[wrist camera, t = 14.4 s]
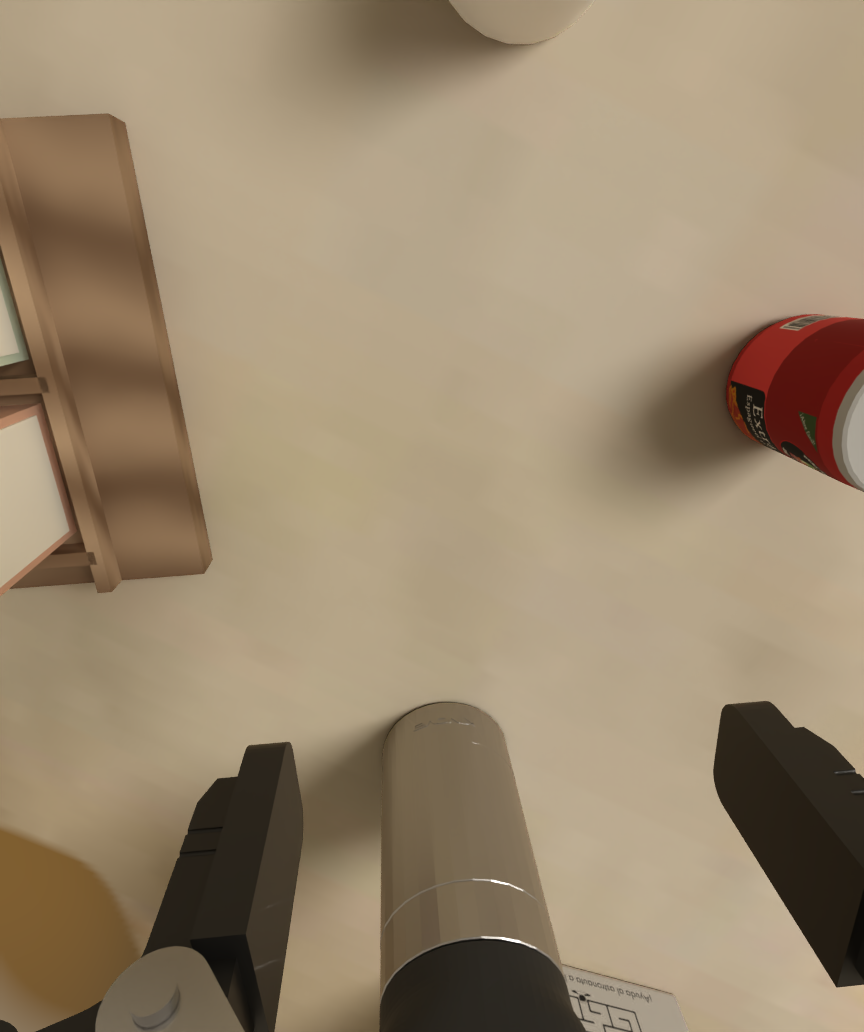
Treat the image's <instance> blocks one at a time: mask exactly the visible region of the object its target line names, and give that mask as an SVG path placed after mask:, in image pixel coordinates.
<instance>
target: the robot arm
mask: <svg viewBox="0 0 864 1032" xmlns="http://www.w3.org/2000/svg"><path fill="white" fill-rule="evenodd" d="M713 774H714V782H715V787H716V790H717V794H718V796H719V799H720V801H721V803H722V805H723V806H724V808H725V810H726V811H727V813H728V814H729V816H730V818H731V819H732V821H733V822H734V824H735V826H736V827H737V829H738V830H739V832H740V834H741V835H742V837H743V838H744V840H745V842H746V843H747V845H748V846H749V848H750V850H751V851H752V853H753V854H754V856H755V858H756V859H757V861H758V862H759V864H760V866H761V867H762V869H763V870H764V872H765V874H766V875H767V877H768V878H769V880H770V882H771V883H772V885H773V886H774V888H775V890H776V891H777V893H778V894H779V896H780V898H781V899H782V901H783V902H784V904H785V906H786V907H787V909H788V910H789V912H790V914H791V915H792V917H793V918H794V920H795V922H796V923H797V925H798V926H799V928H800V930H801V931H802V933H803V934H804V936H805V938H806V939H807V941H808V942H809V944H810V946H811V947H812V949H813V950H814V952H815V954H816V955H817V957H818V958H819V960H820V962H821V963H822V965H823V966H824V968H825V970H826V971H827V973H828V974H829V976H830V978H831V979H832V981H833V982H834V984H835V986H836V987H845V986H855V985H864V778H863V777H862V776H861V775H860V774H856V772H855V768H854V767H853V766H852V765H851V764H850V763H849V762H848V761H847V760H846V759H845V758H844V757H843V756H842V755H841V753H840V752H839V751H838V750H837V749H836V748H835V747H834V746H833V745H831V744H830V743H828V742H826V741H825V740H823V739H822V738H820V737H819V736H817V735H815V734H814V733H812V732H811V731H809V730H808V729H806V728H804V727H799V728H794V727H793V726H792V725H791V723H790V722H789V721H788V720H787V719H786V718H785V717H784V716H783V714H782V713H781V712H780V711H779V710H778V709H777V708H776V707H775V706H774V705H773V704H772V703H770V702H768V701H761V702H749V703H738V704H728V705H725V706H724V708H723V709H722V712H721V718H720V725H719V732H718V739H717V746H716V754H715V761H714V769H713ZM302 840H303V809H302V801H301V796H300V790H299V784H298V778H297V772H296V766H295V760H294V754H293V749H292V745H291V743H290V742H282V743H270V744H259V745H249V746H248V747H247V748H246V751H245V754H244V757H243V760H242V764H241V767H240V771H239V774H238V777H230V778H219V779H217V780H216V781H215V782H214V783H213V785H212V786H211V787H210V788H209V789H208V791H207V792H206V793H205V794H204V795H203V797H202V798H201V799H200V800H199V801H198V803H197V805H196V808H195V811H194V814H193V816H192V819H191V822H190V825H189V828H188V835H186V836H185V839H184V842H183V845H182V847H181V850H180V857H179V858H178V859H177V861H176V864H175V867H174V870H173V873H172V876H171V878H170V881H169V884H168V887H167V890H166V892H165V895H164V898H163V901H162V904H161V906H160V909H159V912H158V915H157V918H156V921H155V923H154V926H153V929H152V932H151V935H150V937H149V940H148V943H147V946H146V948H145V950H144V953H143V955H142V957H141V958H140V959H138V960H137V961H136V962H135V963H133V964H132V965H130V966H129V967H128V968H127V969H126V970H125V971H124V972H123V973H122V974H121V975H120V976H119V977H118V978H117V979H116V980H115V982H114V983H113V984H112V985H111V987H110V988H109V990H108V991H107V993H106V995H105V997H104V999H103V1000H102V1001H100V1002H99V1003H97V1004H95V1005H94V1006H92V1007H91V1008H89V1009H87V1010H85V1011H83V1012H81V1013H78V1014H76V1015H74V1016H71V1017H69V1018H67V1019H64V1020H62V1021H60V1022H57V1023H55V1024H53V1025H50V1026H48V1027H46V1028H43V1029H41V1030H39V1031H36V1032H274V1030H275V1023H276V1017H277V1010H278V1003H279V996H280V990H281V983H282V976H283V969H284V963H285V956H286V949H287V942H288V936H289V929H290V922H291V915H292V908H293V902H294V895H295V888H296V881H297V875H298V868H299V861H300V854H301V848H302ZM380 950H381V970H380V1031H379V1032H586V1030H585V1028H584V1026H583V1024H582V1023H581V1021H580V1019H579V1018H578V1016H577V1015H576V1014H575V1012H574V1010H573V1007H572V1004H571V1000H570V996H569V992H568V988H567V985H566V981H565V976H564V972H563V968H562V964H561V960H560V956H559V952H558V948H557V944H556V940H555V937H554V933H553V929H552V925H551V921H550V918H549V914H548V910H547V906H546V902H545V898H544V894H543V890H542V886H541V882H540V878H539V874H538V870H537V866H536V862H535V858H534V854H533V850H532V846H531V842H530V838H529V834H528V830H527V826H526V822H525V818H524V814H523V810H522V806H521V802H520V798H519V794H518V790H517V786H516V782H515V777H514V773H513V769H512V765H511V761H510V757H509V754H508V750H507V746H506V742H505V738H504V735H503V732H502V731H501V729H500V727H499V725H498V724H497V723H496V722H495V721H494V720H493V719H492V718H491V717H490V716H489V715H487V714H486V713H484V712H483V711H481V710H479V709H477V708H474V707H472V706H469V705H465V704H459V703H437V704H432V705H427V706H424V707H422V708H419V709H416V710H414V711H413V712H411V713H409V714H407V715H406V716H404V717H403V718H402V719H401V720H400V721H399V722H397V723H396V724H395V725H394V727H393V728H392V729H391V731H390V732H389V734H388V736H387V738H386V740H385V743H384V747H383V753H382V816H381V937H380ZM0 1032H18V1031H17V1030H16V1028H15V1027H14V1026H12V1025H11V1024H10V1023H8V1022H5V1021H3V1020H0Z"/></svg>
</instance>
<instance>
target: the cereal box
mask: <svg viewBox="0 0 864 1032" xmlns="http://www.w3.org/2000/svg"><path fill="white" fill-rule="evenodd" d="M562 968H563V972H564V976H565V981H566V985H567V988H568V992H569V996H570V1000H571V1004H572V1007H573V1010H574V1012H575V1014H576V1015H577V1016H578V1018H579V1019H580V1021H581V1023H582V1024H583V1026H584V1028H585V1030H586V1032H689V1030H688V1027H687V1025H686V1022H685V1020H684V1017H683V1014H682V1012H681V1009H680V1007H679V1004H678V1002H677V999H676V997H675V996H674V995H673V994H670V993H666V992H663V991H659V990H655V989H651V988H648V987H644V986H640V985H637V984H633V983H629V982H625V981H622V980H618V979H614V978H610V977H607V976H603V975H599V974H595V973H592V972H588V971H584V970H580V969H577V968H573V967H569V966H565V965H562Z"/></svg>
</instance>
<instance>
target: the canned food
mask: <svg viewBox="0 0 864 1032" xmlns="http://www.w3.org/2000/svg"><path fill="white" fill-rule="evenodd" d="M726 400H727V405H728V410H729V412H730V414H731V416H732V418H733V420H734V422H735V423H736V425H737V426H738V427H739V429H740V430H741V431H742V432H743V433H744V434H745V435H746V436H748V437H749V438H750V439H752V440H754V441H756V442H758V443H760V444H762V445H765V446H767V447H769V448H771V449H773V450H775V451H777V452H779V453H781V454H783V455H785V456H788V457H790V458H792V459H794V460H796V461H798V462H800V463H802V464H804V465H806V466H808V467H811V468H813V469H815V470H817V471H819V472H821V473H823V474H825V475H827V476H829V477H832V478H834V479H836V480H838V481H840V482H842V483H844V484H847V485H849V486H851V487H854V488H856V489H858V490H860V491H863V492H864V319H858V318H848V317H838V316H828V315H818V314H810V315H800V316H795V317H791V318H788V319H785V320H783V321H780V322H778V323H775V324H773V325H771V326H769V327H768V328H766V329H764V330H763V331H761V332H760V333H758V334H757V335H756V336H755V337H754V338H753V339H751V340H750V341H749V342H748V344H747V345H746V346H745V347H744V348H743V349H742V351H741V352H740V353H739V355H738V357H737V358H736V360H735V362H734V364H733V366H732V369H731V371H730V374H729V377H728V382H727V387H726Z"/></svg>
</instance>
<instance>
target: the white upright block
mask: <svg viewBox="0 0 864 1032" xmlns="http://www.w3.org/2000/svg"><path fill="white" fill-rule="evenodd" d="M448 1H449V2H450V3H451V5H452V6H453V7H454V8H455V10H456V11H457V12H458V13H459V15H460V16H461V17H462V19H463V20H464V21H465V22H466V23H468V24H469V25H470V26H472V27H473V28H475V29H476V30H477V31H479V32H480V33H481V34H483V35H484V36H486V37H489V38H492V39H495V40H498V41H500V42H503V43H506V44H534V43H537V42H541V41H544V40H547V39H551V38H554V37H556V36H557V35H559V34H560V33H562V32H563V31H565V30H566V29H568V28H569V27H571V26H572V25H574V24H575V23H576V22H577V21H578V20H579V19H580V18H581V16H582V15H583V14H584V13H585V12H586V11H587V10H588V9H589V7H590V6H591V5H592V4H593V3H594V2H595V0H448Z"/></svg>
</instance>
